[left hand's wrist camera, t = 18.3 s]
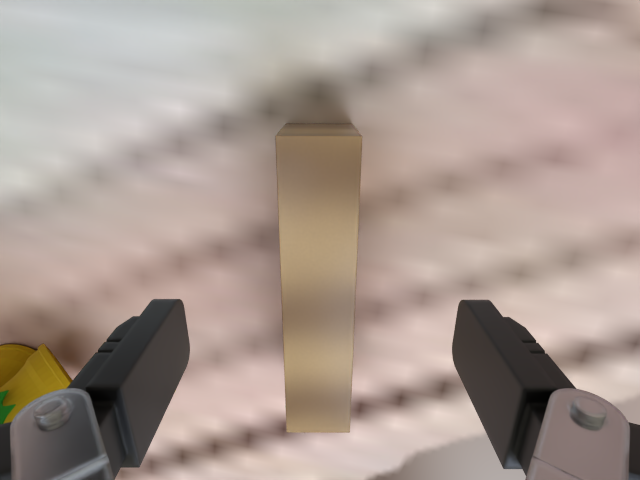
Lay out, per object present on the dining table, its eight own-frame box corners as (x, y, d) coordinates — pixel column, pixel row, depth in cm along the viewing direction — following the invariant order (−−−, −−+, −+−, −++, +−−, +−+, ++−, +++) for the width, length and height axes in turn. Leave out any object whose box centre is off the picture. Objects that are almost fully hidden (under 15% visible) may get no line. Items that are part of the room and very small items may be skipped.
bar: (285, 123, 33) (275, 135, 26) (352, 123, 33) (362, 136, 26) (292, 371, 43) (286, 432, 35) (344, 371, 43) (349, 432, 35)
